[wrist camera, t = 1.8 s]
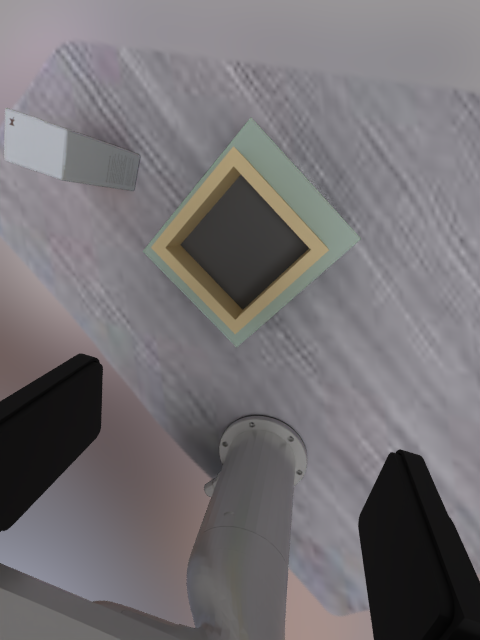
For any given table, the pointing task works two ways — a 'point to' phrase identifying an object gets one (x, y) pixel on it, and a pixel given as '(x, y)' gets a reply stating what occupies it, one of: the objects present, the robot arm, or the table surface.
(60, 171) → the skincare box
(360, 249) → the table surface
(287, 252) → the green yellow rimmed box
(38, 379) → the robot arm
